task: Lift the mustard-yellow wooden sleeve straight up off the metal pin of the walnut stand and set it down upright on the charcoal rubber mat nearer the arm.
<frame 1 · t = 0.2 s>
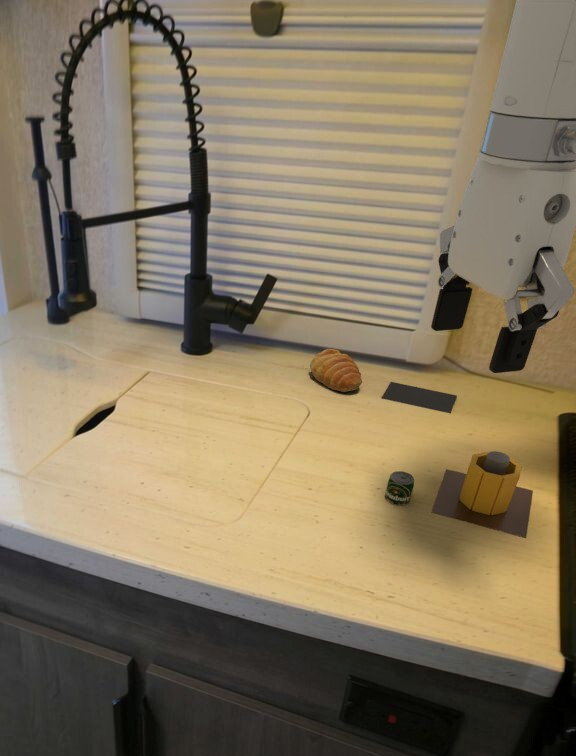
hand: (474, 348, 62), 21 cm above the worktop, tool pointing down, fingers open, 9 cm apart
mat: (418, 400, 99), on the worktop
pastry: (335, 380, 105), on the worktop
stand: (479, 511, 77), on the worktop
beer can: (394, 509, 78), on the worktop
sleeve: (483, 501, 76), point 1 cm above the worktop, touching stand
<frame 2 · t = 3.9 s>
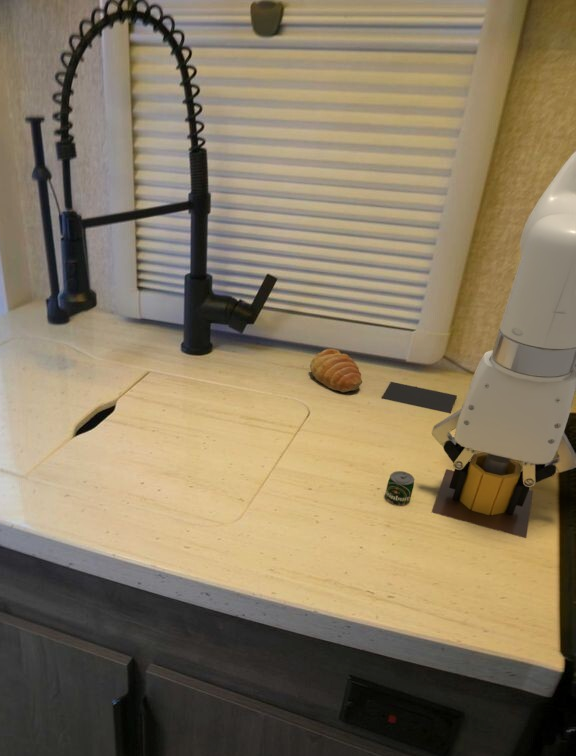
hand: (483, 499, 76), 2 cm above the worktop, tool pointing down, fingers closed on sleeve, 5 cm apart
sleeve: (483, 501, 76), point 2 cm above the worktop, touching gripper, stand
everything else where it was.
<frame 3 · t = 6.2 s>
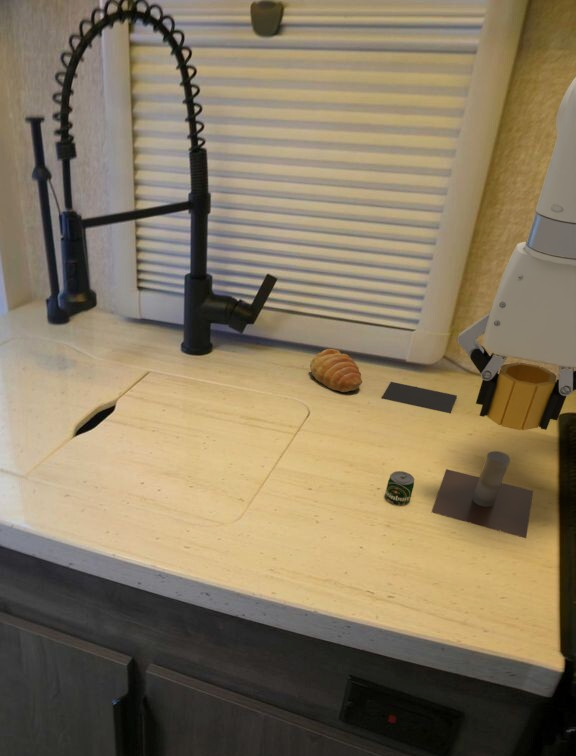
hand: (513, 415, 70), 13 cm above the worktop, tool pointing down, fingers closed on sleeve, 5 cm apart
sleeve: (513, 417, 70), point 12 cm above the worktop, touching gripper
everything else where it was.
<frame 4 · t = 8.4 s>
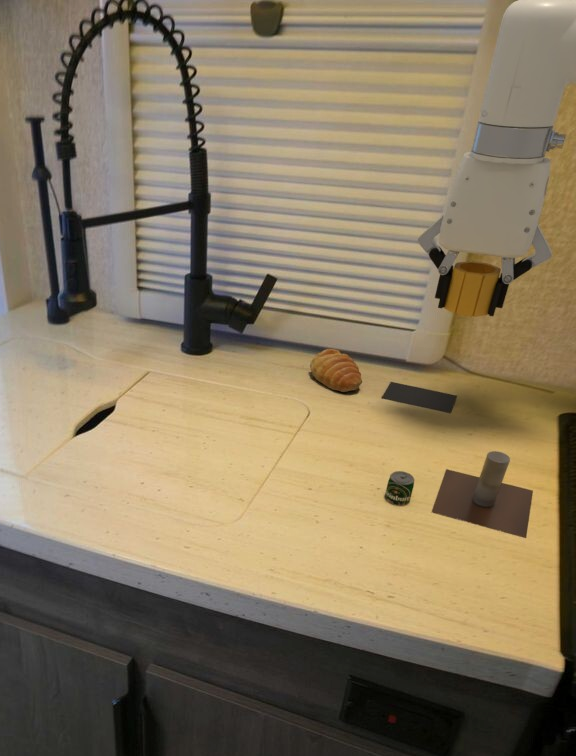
hand: (466, 307, 82), 17 cm above the worktop, tool pointing down, fingers closed on sleeve, 5 cm apart
sleeve: (466, 308, 82), point 17 cm above the worktop, touching gripper
everything else where it was.
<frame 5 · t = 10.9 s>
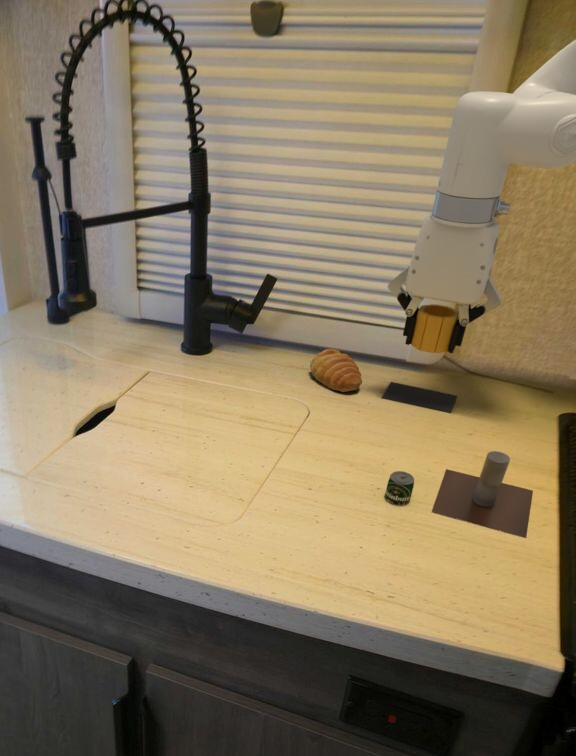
hand: (430, 344, 94), 9 cm above the worktop, tool pointing down, fingers closed on sleeve, 5 cm apart
sleeve: (430, 345, 94), point 9 cm above the worktop, touching gripper
everything else where it was.
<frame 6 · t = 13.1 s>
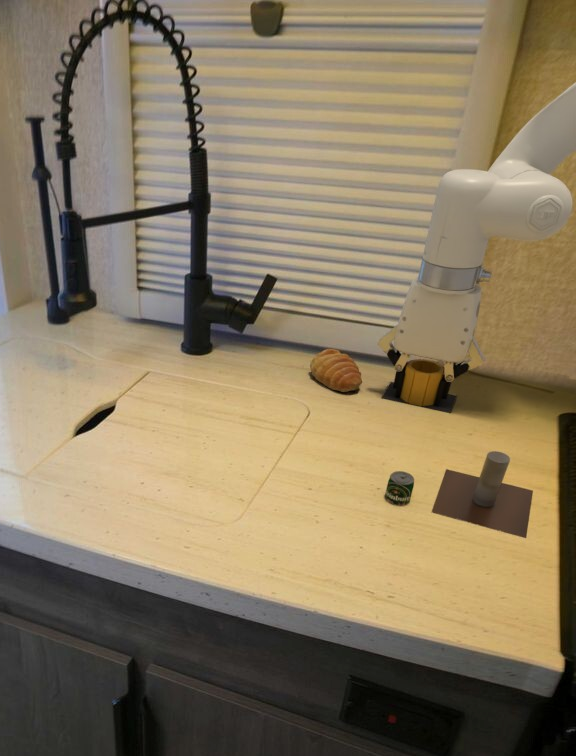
hand: (418, 396, 99), 1 cm above the worktop, tool pointing down, fingers closed on sleeve, 5 cm apart
sleeve: (418, 397, 99), resting on mat, touching gripper
everything else where it was.
when the fingers open (1 cm above the worktop, at t = 13.3 s): sleeve stays where it is, resting on mat.
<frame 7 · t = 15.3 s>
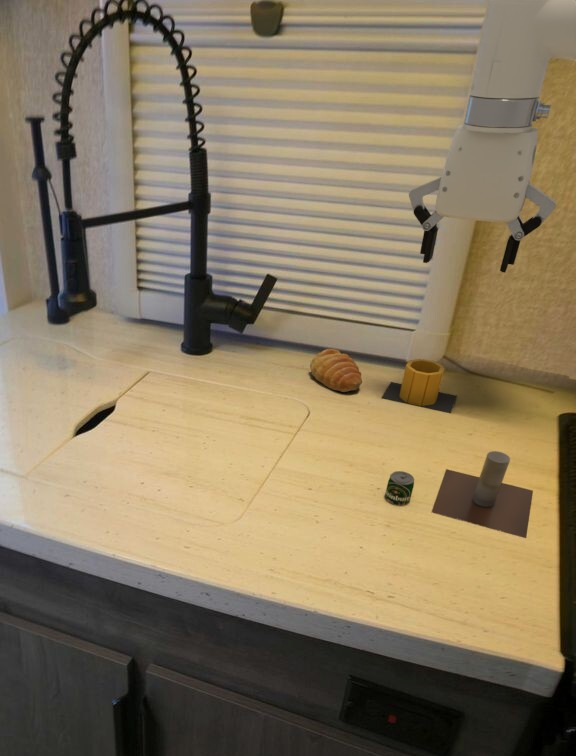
hand: (464, 264, 88), 20 cm above the worktop, tool pointing down, fingers open, 9 cm apart
sleeve: (417, 397, 99), resting on mat
everything else where it was.
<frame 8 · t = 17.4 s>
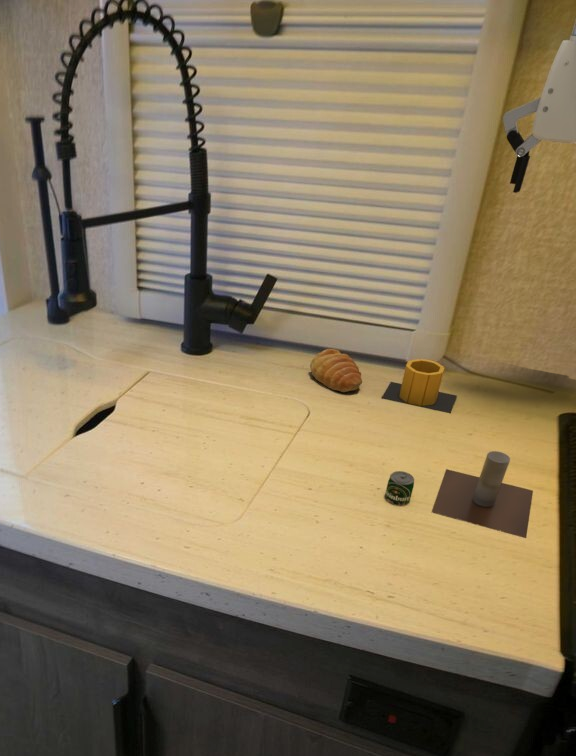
hand: (557, 194, 83), 28 cm above the worktop, tool pointing down, fingers open, 9 cm apart
nothing on the worktop moved.
at the end: sleeve inside the target area on the mat (0.1 cm from its centre), point 0.4 cm above the mat's base; sleeve moved 27.8 cm from its start; sleeve tilted 0° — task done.
